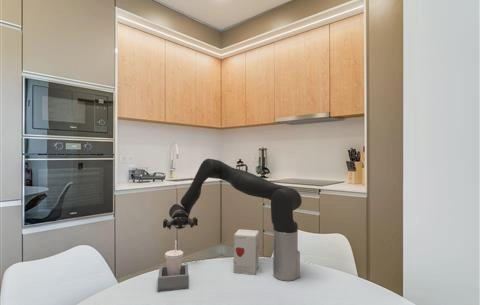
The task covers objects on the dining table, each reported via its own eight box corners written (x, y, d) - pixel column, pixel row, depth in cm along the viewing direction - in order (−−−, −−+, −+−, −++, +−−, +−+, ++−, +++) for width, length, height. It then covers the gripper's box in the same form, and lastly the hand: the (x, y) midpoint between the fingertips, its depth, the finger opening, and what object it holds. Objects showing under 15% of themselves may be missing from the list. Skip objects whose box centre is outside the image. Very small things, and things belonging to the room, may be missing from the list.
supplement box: (232, 273, 101) (233, 234, 102) (238, 264, 110) (238, 228, 111) (255, 275, 99) (256, 235, 100) (259, 266, 108) (259, 230, 109)
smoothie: (178, 285, 88) (178, 243, 89) (160, 283, 90) (161, 242, 90) (185, 277, 94) (186, 238, 95) (169, 276, 96) (170, 237, 96)
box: (187, 276, 98) (187, 264, 98) (188, 288, 88) (188, 275, 88) (159, 279, 95) (159, 266, 96) (157, 292, 86) (158, 278, 86)
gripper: (164, 211, 119) (162, 217, 103) (195, 209, 122) (198, 215, 106) (164, 228, 118) (162, 236, 102) (195, 225, 122) (198, 234, 106)
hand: (180, 225), depth 104 cm, fingers open, 8 cm apart
